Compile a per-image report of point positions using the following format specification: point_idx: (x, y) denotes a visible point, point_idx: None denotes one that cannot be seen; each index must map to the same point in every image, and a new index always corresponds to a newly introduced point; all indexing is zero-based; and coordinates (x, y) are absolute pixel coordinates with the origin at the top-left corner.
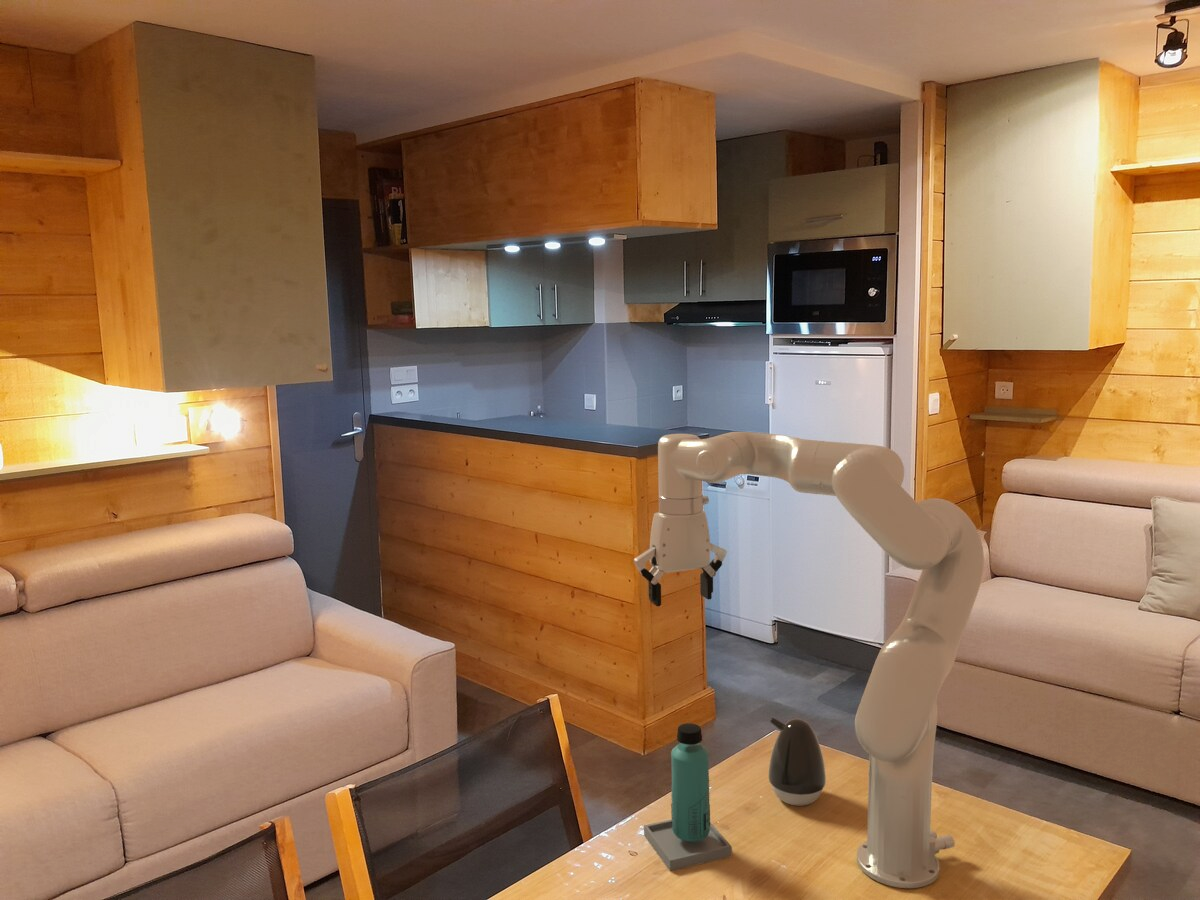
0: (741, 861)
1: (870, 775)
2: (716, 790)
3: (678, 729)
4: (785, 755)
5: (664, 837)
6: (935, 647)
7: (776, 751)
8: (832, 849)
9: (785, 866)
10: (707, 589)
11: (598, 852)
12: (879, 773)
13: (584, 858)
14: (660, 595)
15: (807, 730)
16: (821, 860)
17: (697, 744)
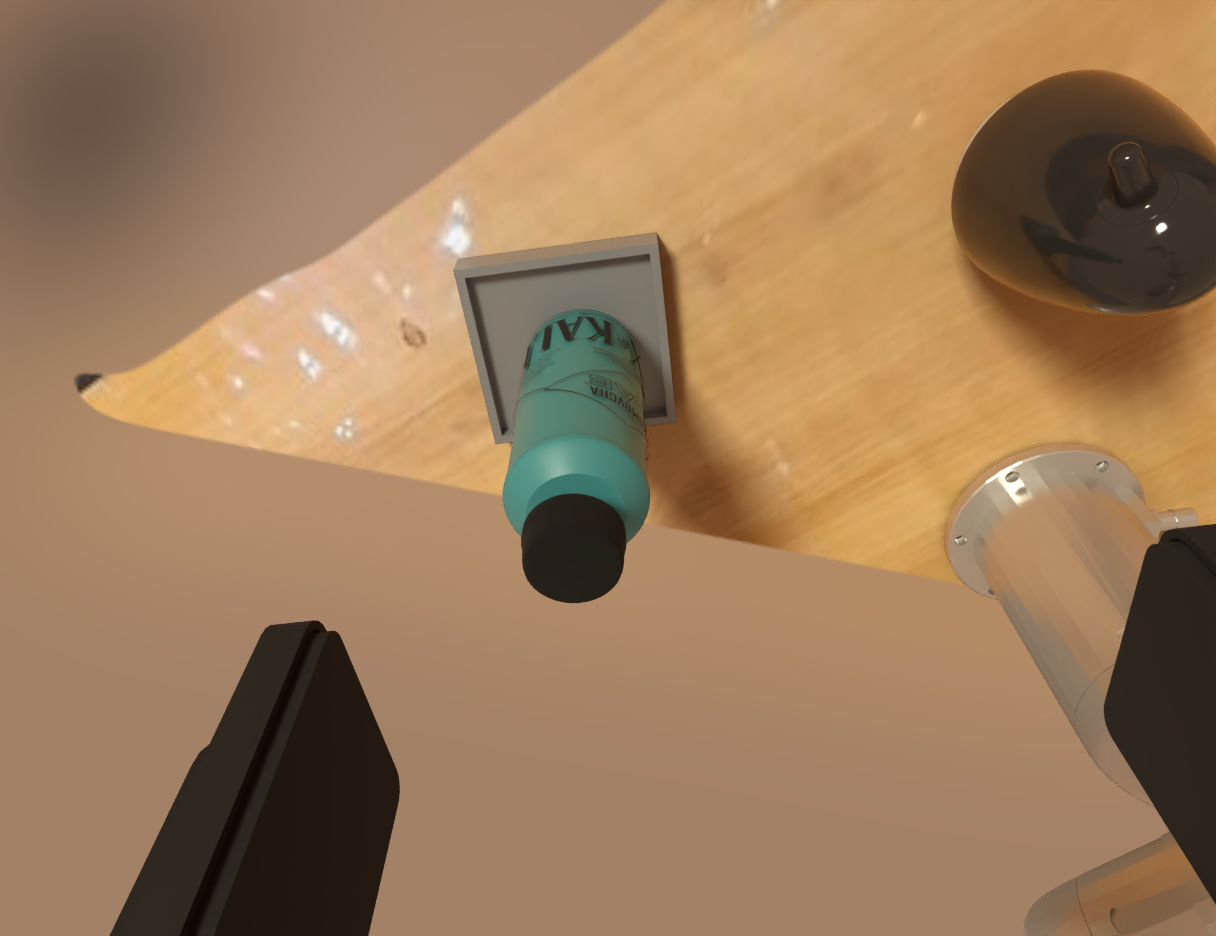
0: (690, 430)
1: (1084, 690)
2: (787, 30)
3: (523, 565)
4: (1032, 277)
5: (510, 318)
6: None
7: (1024, 229)
8: (940, 435)
9: (786, 470)
10: (1185, 843)
11: (312, 311)
12: (1088, 746)
13: (271, 329)
14: (360, 925)
15: (1186, 305)
16: (884, 468)
17: (612, 505)
